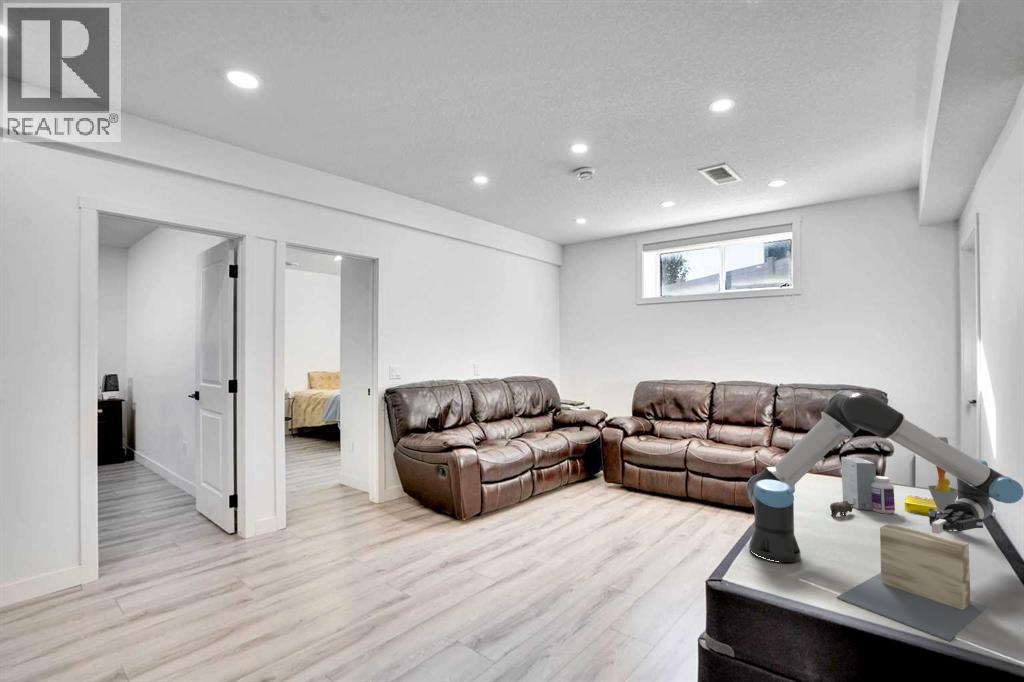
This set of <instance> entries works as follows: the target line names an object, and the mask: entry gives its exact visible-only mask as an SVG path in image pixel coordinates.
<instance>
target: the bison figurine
mask: <svg viewBox="0 0 1024 682" xmlns="http://www.w3.org/2000/svg"><path fill="white" fill-rule="evenodd" d="M852 505H854V503H853V504H850V503H848V501H844V500H843V501H840V502H839V501H837V502H832V503H830V506H829V507H830V512H831V515H830V516H831V517H832V518H833V519H838V516H837V515H838V514H839V515H840V516H843V517H845V516H847V517H848V515H847V513H848V512H849V513H852V512H853V509H854V506H852ZM843 514H844V515H843Z"/></svg>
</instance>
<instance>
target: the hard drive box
mask: <svg viewBox="0 0 1024 682" xmlns="http://www.w3.org/2000/svg"><path fill="white" fill-rule="evenodd" d="M840 459H841V460H840V461H841V463H840V464H841V483H842V484H841V485H842V489H841V490H842V500H843V501H848V503H850V504H853V503H854V505H851V506H853V508H855V509H858V510H870V511H874V510H873V508H872V491H871V484H872V483H874V482H875V481H874V477H876V476H877V470H876V469H877V467H876V463H875V462H872V461H869V460H867V459H864V458H861V457H857V456H856V457H853V456H852V457H851V456H841V457H840Z"/></svg>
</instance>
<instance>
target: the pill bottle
mask: <svg viewBox="0 0 1024 682" xmlns="http://www.w3.org/2000/svg"><path fill="white" fill-rule="evenodd" d="M874 481H875V482H874V483H872V484H871V491H872V508H873V510H872V511H874V512H876V513H879V514H880V513H881V514H889V515H890V514H893V513H895V511H896V507H895V506H896V503H895V489H894V487H895V486H894V485H893V484H892V483H890V481H891V480H890V477H887V476H883V475H882V476H881V475H876V477H874Z"/></svg>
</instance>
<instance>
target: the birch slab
mask: <svg viewBox="0 0 1024 682" xmlns="http://www.w3.org/2000/svg"><path fill="white" fill-rule="evenodd" d="M879 533H880V534H879V536H880V538H879V539H880V543H879V544H880V547H879V548H880V573H881V583H884V584H887V585H890V586H892V587H895V588H898V589H901V590H904V591H907V592H910V593H913V594H916V595H919V596H922V597H925V598H928V599H931V600H934V601H937V602H940V603H943V604H946V605H949V606H952V607H955V608H958V609H961V610H963V609H965V608H966V607H967V606H968V605H970V604H971V603H970V601H971V580H970V579H971V578H970V577H971V574H970V545H969V543H968V542H964V541H961V540H957V539H954V538H949V537H946V536H942V535H941V536H940V535H938V534H937V535H936V534H934V533H933V534H932V533H929V532H924V531H920V530H917V529H912V528H909V527H904V526H901V525H897V524H891V523H887V524H884V525H883V526H880V527H879Z"/></svg>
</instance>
